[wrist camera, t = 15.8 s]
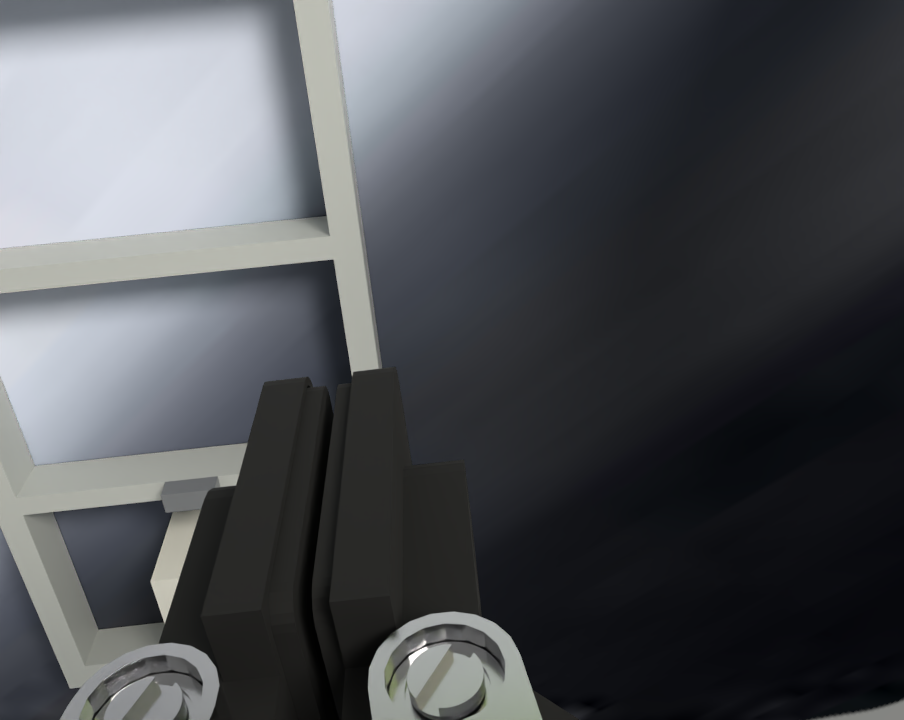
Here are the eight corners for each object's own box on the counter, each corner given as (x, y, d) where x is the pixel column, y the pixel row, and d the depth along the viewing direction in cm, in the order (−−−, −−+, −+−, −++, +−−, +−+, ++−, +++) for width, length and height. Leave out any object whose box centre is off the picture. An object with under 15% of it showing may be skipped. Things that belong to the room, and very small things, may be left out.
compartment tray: (336, -94, 31) (331, -91, 28) (426, 612, 48) (430, 669, 45) (-200, -45, 30) (-274, -36, 27) (84, 651, 48) (60, 712, 44)
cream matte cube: (262, 501, 44) (249, 570, 39) (277, 568, 46) (267, 640, 41) (173, 511, 44) (150, 581, 39) (193, 578, 46) (173, 651, 41)
